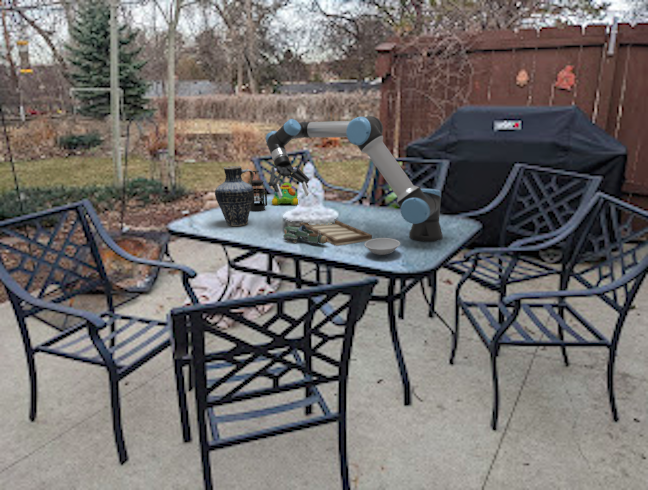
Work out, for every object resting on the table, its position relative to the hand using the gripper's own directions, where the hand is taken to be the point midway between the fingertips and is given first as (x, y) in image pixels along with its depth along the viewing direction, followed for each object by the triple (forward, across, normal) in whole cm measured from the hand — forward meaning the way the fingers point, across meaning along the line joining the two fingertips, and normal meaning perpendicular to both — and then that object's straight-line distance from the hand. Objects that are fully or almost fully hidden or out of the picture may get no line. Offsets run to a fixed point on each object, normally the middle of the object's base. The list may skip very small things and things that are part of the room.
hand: (294, 195), depth 232 cm
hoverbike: (+23, +1, -5) cm, 23 cm away
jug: (-11, +17, -39) cm, 44 cm away
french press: (-30, -5, -58) cm, 65 cm away
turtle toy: (-38, -28, -66) cm, 81 cm away
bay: (+18, -18, -9) cm, 27 cm away
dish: (+45, -19, +18) cm, 52 cm away
